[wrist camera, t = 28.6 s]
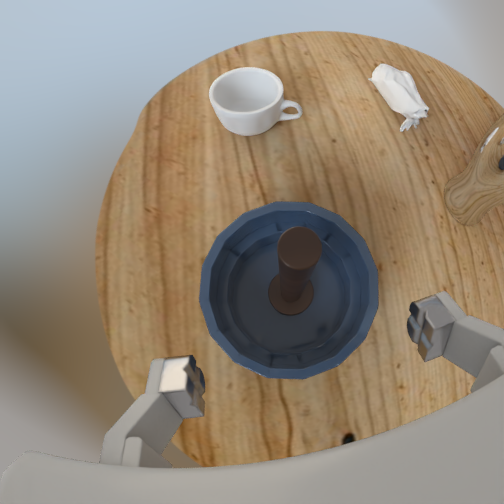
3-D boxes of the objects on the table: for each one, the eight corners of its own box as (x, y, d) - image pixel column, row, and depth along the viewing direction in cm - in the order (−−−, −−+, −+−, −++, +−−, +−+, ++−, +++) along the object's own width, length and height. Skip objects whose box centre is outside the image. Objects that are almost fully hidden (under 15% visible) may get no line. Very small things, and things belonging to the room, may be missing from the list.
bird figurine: (425, 129, 32) (392, 68, 33) (444, 110, 26) (402, 42, 26) (395, 138, 33) (362, 75, 34) (410, 119, 27) (369, 49, 27)
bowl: (323, 390, 25) (333, 405, 19) (193, 329, 28) (170, 328, 22) (379, 259, 28) (400, 242, 22) (254, 206, 30) (247, 178, 25)
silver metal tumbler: (493, 211, 27) (568, 153, 13) (465, 241, 27) (552, 185, 13) (460, 166, 29) (522, 92, 15) (429, 191, 29) (498, 111, 14)
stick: (316, 310, 27) (359, 286, 11) (272, 319, 27) (258, 306, 11) (307, 268, 28) (335, 193, 12) (265, 276, 28) (242, 210, 12)
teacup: (208, 138, 33) (197, 109, 28) (231, 93, 35) (224, 63, 30) (292, 156, 31) (293, 126, 26) (308, 107, 33) (310, 76, 28)
